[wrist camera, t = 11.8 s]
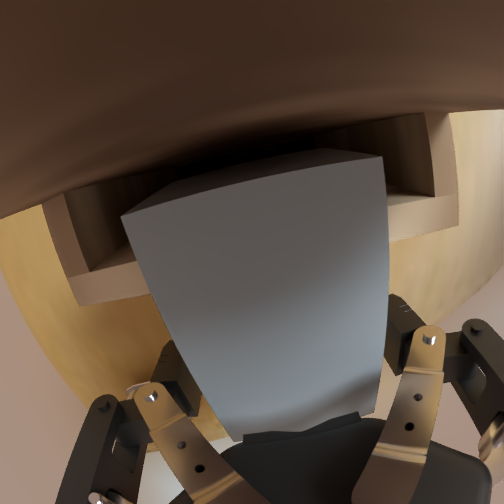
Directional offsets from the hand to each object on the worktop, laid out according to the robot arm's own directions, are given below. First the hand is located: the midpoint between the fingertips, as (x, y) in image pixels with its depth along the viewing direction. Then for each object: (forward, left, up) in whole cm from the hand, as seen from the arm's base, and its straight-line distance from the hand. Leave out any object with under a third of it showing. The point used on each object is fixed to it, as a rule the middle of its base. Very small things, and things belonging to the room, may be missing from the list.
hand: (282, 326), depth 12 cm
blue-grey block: (0, -3, -5) cm, 6 cm away
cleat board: (0, -6, -9) cm, 11 cm away
